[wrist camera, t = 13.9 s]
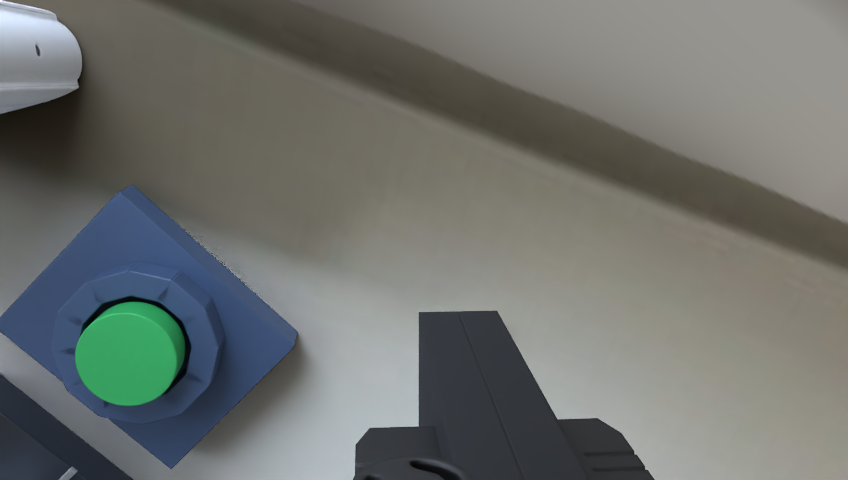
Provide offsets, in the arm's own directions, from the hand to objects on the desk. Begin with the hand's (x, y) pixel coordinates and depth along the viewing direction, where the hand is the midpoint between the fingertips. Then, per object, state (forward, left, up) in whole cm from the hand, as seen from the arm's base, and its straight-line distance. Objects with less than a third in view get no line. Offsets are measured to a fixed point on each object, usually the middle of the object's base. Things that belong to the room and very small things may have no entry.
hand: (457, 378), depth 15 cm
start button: (+4, +14, -21) cm, 25 cm away
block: (+4, +14, -24) cm, 28 cm away
